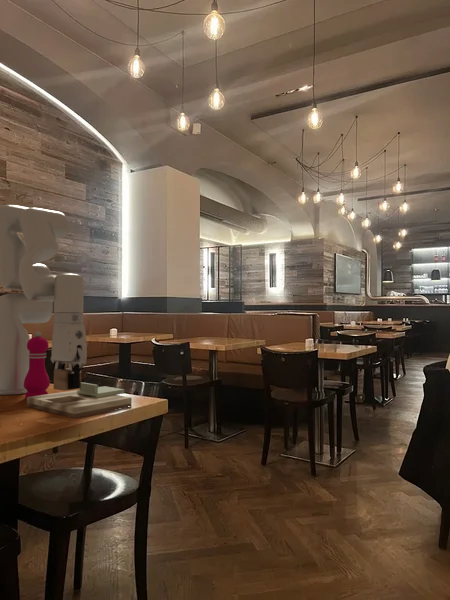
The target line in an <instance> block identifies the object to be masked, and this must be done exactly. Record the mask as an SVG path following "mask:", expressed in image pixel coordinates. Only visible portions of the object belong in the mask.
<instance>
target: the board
mask: <svg viewBox="0 0 450 600" xmlns="http://www.w3.org/2000/svg"><path fill="white" fill-rule="evenodd" d="M77 390H78V389H73V390H66V391H60V392H54V393H48V394H46V395H39V396H32V397H27V400H26V407H28V408H32V409H37V410H41V411H44V412H47V413H48V412H49V413H53V414H56V415H61V416H65V417H69V418H71V419H77V418H82V417H87V416H92V415H97V414H102V413H106V412H107V411H108V412H111V410H113V411H116V410H115V409H118V410H120V409H119V408H123V409H125V408H124V407H128V406H131V407H132V402H133V401H132V400H133V399H132V397H129V396H124V395H121V394H118V395H112V396H106V397H100V398H95V396H91V395H85V394H77ZM128 408H129V407H128ZM108 412H107V413H108Z"/></svg>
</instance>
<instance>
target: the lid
mask: <svg viewBox="0 0 450 600" xmlns="http://www.w3.org/2000/svg"><path fill="white" fill-rule="evenodd" d="M76 390H77V394H85V395H91V396H95V398H100V397H106V396H112V395H122V394H123V395H124V394H125V389H124V388H119V387H112V386H111V387H110V386H105V385H104V386H99V384H96V383H95V384H94V383H88V382H82V381H81V388H80V389H76Z"/></svg>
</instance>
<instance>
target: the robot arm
mask: <svg viewBox="0 0 450 600" xmlns="http://www.w3.org/2000/svg"><path fill="white" fill-rule="evenodd" d="M69 229H70V223H69V219H68V218H67V216H66V215H65V213H63V212H62V211H57V210H52V209H51V210H50V209H45V208H40V207H27V206H22V205H17V204H3V205H0V285H1V287H3V288H4V289H6V290H11V291H22V292H23V293H7V294H3V295H0V396H1V395H2V396H4V395H5V396H10V395H21V394H25V393H26V392H27V390H26V389H25V388H24V380H25V377H26V375H27V373H28V370H29V367H30V358H28V357H29V353H30V352H29V350H28V349H27V343H28V341H29V340H30V339H31V338H30V335H29V332H28V330H27V329H26V328H25V326H24V325H23V324H44V323H47V322H49V321H50V320H51V318H52V315H53V329H52V336H51V338H52V339H51V356H50V361H51V362H52V365H53V367H54V370H59V369H67V365H68V369H69V371H70V374H68V389H73V390H78V389H77V388H79V387H80V373H81V374H82V370H83V367H84V366H85V364H86V363H87V357H88V352H87V351H88V350H87V349H88V348H87V334H86V327H85V325H84V291H85V289H84V285H85V283H84V281H85V280H84V277H83V276H82V275H81V274H77V273H59V274H52V272H51V269H50V268H49V267H48V265H45V264H43V263H42V262H46V261H48V260H50V259H53V258H54V257H55V256H56V254H58V252H59V244H58V241H57V239H59V240H60V239H63V238H65V237H66V236H67V235H69ZM18 233H19V234H20V233H21V234H22V235H23V238H22V237H21V236H20V235H19V234H18ZM54 370H53V371H54Z"/></svg>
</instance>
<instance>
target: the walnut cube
mask: <svg viewBox="0 0 450 600" xmlns="http://www.w3.org/2000/svg"><path fill="white" fill-rule="evenodd" d="M68 374H70V371H69V368H66V369H59V370H53V389H54V390H58V391H59V390H60V391H62V392H67V391H73V390H74V389H68ZM81 382H82V372H81V373H80V387H79V388H77V389H76V390H79V389H80V388H81Z"/></svg>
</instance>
